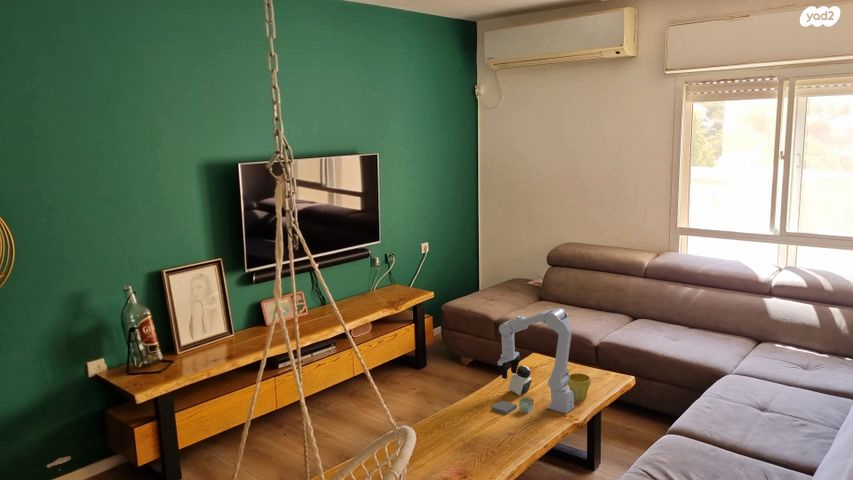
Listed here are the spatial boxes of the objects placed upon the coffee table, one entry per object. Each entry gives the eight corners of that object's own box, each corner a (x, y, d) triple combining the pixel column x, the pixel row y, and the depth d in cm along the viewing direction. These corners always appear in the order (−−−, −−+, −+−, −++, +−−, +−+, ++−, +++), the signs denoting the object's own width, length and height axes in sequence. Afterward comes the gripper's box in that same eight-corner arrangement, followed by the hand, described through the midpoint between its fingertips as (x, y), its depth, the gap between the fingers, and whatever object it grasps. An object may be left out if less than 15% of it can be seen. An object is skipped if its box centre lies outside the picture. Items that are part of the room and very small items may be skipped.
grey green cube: (533, 410, 285) (533, 399, 284) (528, 414, 282) (527, 403, 281) (524, 407, 288) (524, 397, 287) (519, 411, 285) (518, 400, 284)
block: (516, 409, 288) (516, 404, 288) (506, 415, 282) (506, 411, 282) (501, 404, 293) (501, 400, 293) (491, 411, 287) (491, 406, 287)
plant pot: (595, 399, 293) (595, 379, 291) (575, 404, 289) (575, 383, 287) (581, 391, 302) (581, 371, 300) (562, 395, 298) (562, 375, 297)
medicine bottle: (520, 396, 300) (527, 374, 296) (507, 388, 304) (514, 366, 299) (528, 391, 305) (535, 369, 301) (516, 383, 309) (522, 362, 305)
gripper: (509, 341, 305) (510, 368, 307) (491, 350, 294) (492, 378, 297) (522, 344, 300) (523, 372, 303) (504, 353, 290) (505, 382, 292)
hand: (509, 375), depth 299 cm, fingers open, 7 cm apart
